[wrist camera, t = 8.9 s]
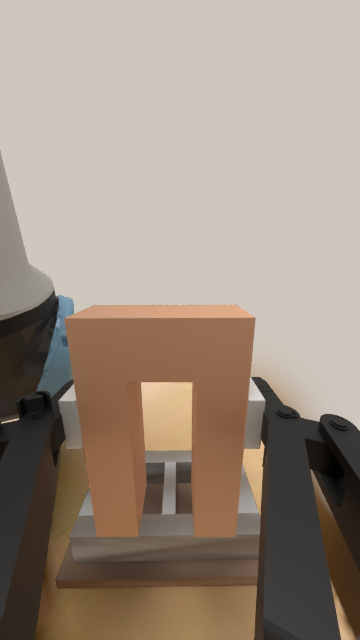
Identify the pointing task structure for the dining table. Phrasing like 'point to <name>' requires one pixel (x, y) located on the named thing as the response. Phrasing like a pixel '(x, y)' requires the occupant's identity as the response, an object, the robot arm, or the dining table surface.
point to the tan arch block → (126, 404)
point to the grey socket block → (164, 538)
